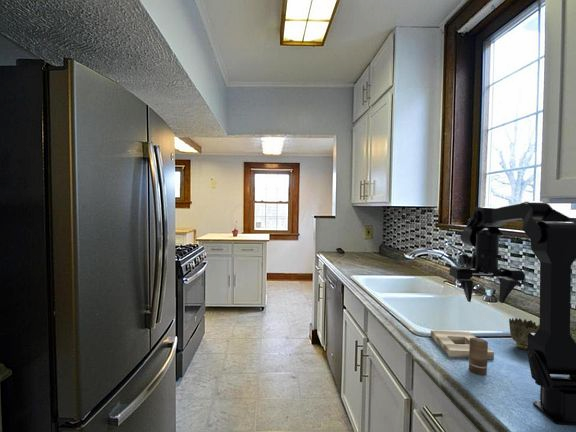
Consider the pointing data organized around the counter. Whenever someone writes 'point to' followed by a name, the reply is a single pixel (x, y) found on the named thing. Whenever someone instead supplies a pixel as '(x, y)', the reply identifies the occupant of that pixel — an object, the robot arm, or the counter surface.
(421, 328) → the counter surface
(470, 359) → the peg
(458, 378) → the counter surface
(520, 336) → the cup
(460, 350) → the board
